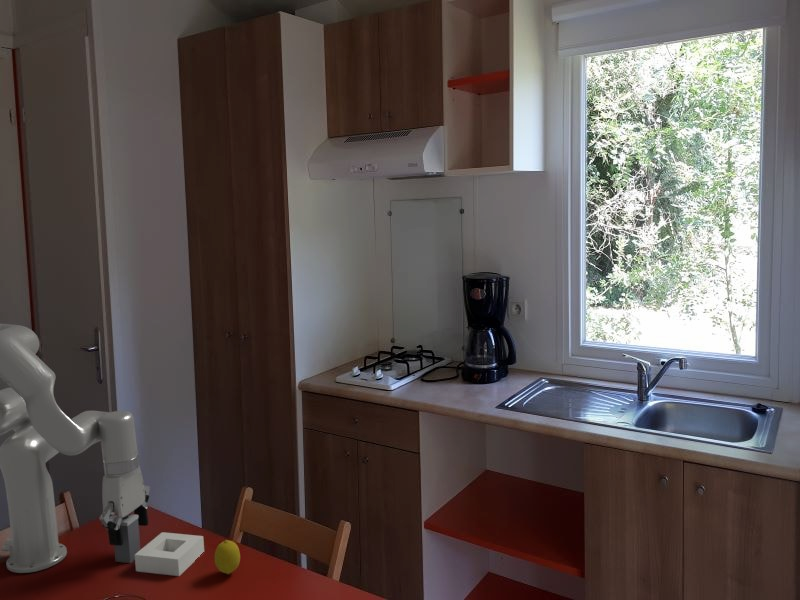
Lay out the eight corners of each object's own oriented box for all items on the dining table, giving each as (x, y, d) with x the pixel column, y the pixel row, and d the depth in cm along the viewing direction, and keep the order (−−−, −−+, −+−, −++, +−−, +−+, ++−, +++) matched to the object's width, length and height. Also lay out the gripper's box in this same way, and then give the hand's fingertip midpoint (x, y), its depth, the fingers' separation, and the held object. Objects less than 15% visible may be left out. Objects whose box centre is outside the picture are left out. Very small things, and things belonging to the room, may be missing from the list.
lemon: (243, 567, 156) (241, 533, 155) (238, 580, 150) (236, 545, 149) (218, 568, 156) (216, 534, 155) (213, 581, 150) (210, 546, 149)
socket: (135, 571, 155) (134, 554, 155) (163, 547, 166) (162, 532, 165) (179, 576, 153) (177, 559, 152) (204, 551, 163) (203, 536, 163)
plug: (114, 561, 160) (111, 517, 158) (126, 552, 164) (122, 509, 162) (130, 563, 159) (126, 518, 157) (141, 554, 163) (137, 510, 161)
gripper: (130, 451, 168) (137, 517, 170) (82, 479, 151) (91, 551, 153) (157, 452, 166) (164, 518, 168) (111, 480, 149) (120, 554, 151)
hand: (129, 534), depth 161 cm, fingers open, 9 cm apart
